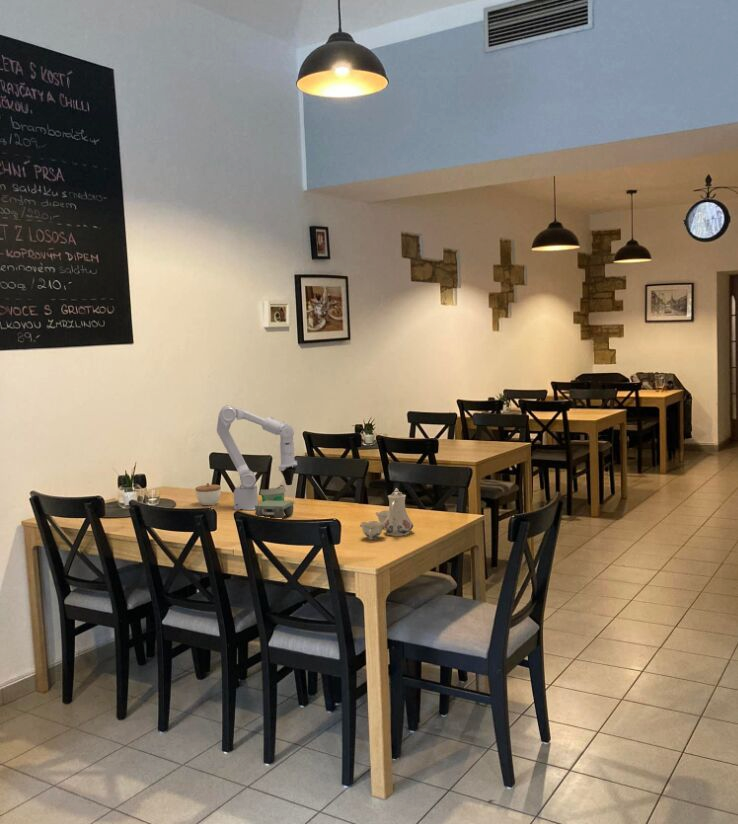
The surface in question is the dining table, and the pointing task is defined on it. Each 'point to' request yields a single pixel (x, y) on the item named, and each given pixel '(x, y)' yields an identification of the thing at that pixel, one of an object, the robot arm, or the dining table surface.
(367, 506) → the dining table surface
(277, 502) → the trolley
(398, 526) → the chinaware
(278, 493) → the food container
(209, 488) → the lidded jar
